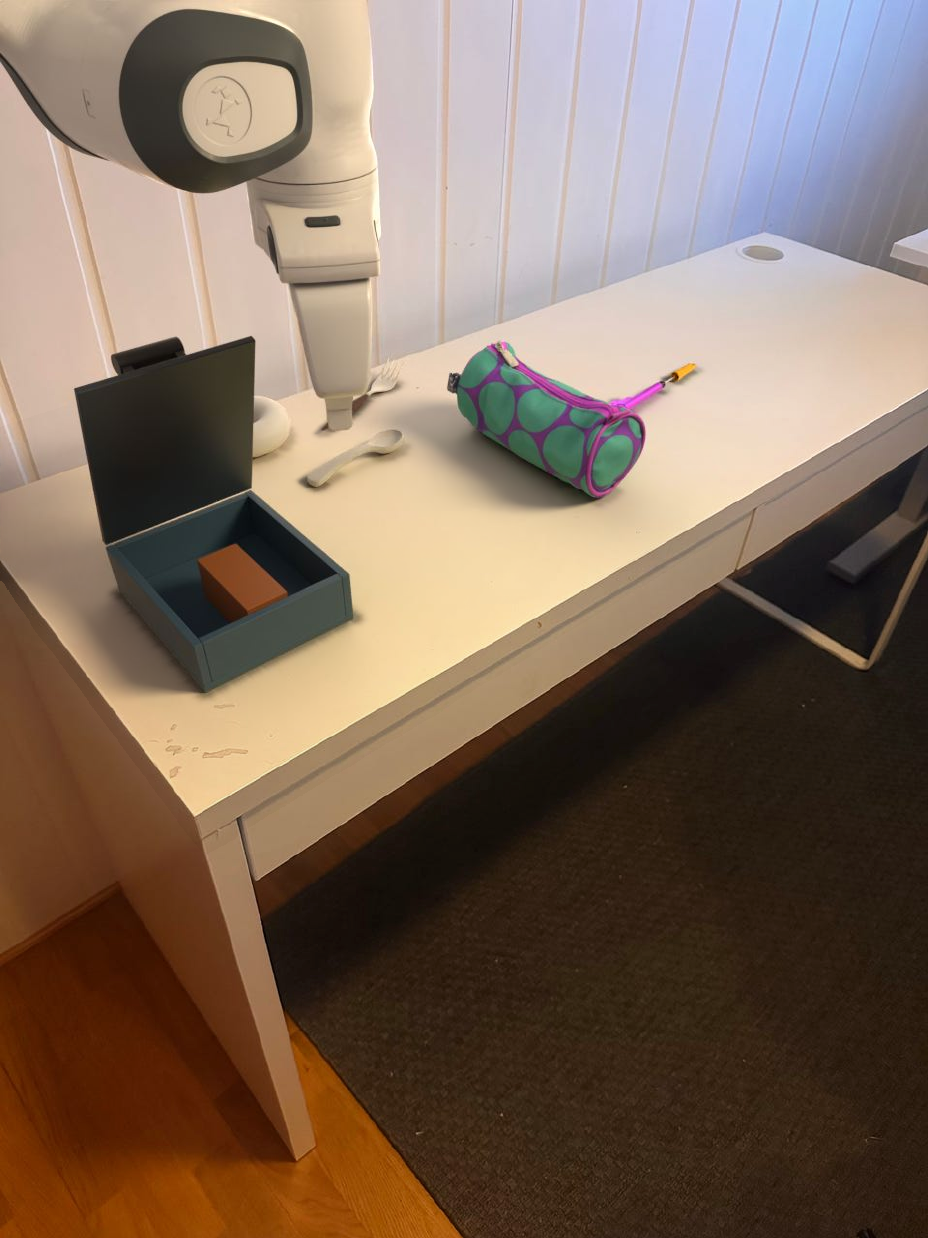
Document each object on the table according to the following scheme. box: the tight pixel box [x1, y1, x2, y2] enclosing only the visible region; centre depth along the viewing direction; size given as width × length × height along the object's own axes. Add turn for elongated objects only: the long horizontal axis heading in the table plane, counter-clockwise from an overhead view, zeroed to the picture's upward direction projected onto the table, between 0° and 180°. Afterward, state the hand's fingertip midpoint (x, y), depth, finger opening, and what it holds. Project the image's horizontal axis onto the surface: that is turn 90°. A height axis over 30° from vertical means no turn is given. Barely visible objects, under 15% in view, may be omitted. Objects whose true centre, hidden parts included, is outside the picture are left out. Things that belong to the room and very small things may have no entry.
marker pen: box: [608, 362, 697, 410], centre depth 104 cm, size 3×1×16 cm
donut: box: [253, 394, 292, 458], centre depth 93 cm, size 10×3×10 cm
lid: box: [73, 335, 256, 546], centre depth 70 cm, size 16×13×4 cm
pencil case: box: [446, 340, 647, 499], centre depth 90 cm, size 21×9×10 cm, turn 39°
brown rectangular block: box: [197, 544, 288, 623], centre depth 71 cm, size 8×4×4 cm, turn 40°
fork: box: [321, 357, 406, 431], centre depth 100 cm, size 3×16×2 cm, turn 153°
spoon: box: [306, 428, 405, 488], centre depth 91 cm, size 3×12×2 cm, turn 135°
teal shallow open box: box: [105, 489, 354, 693], centre depth 73 cm, size 15×13×5 cm
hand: (332, 396), depth 70 cm, fingers open, 8 cm apart
